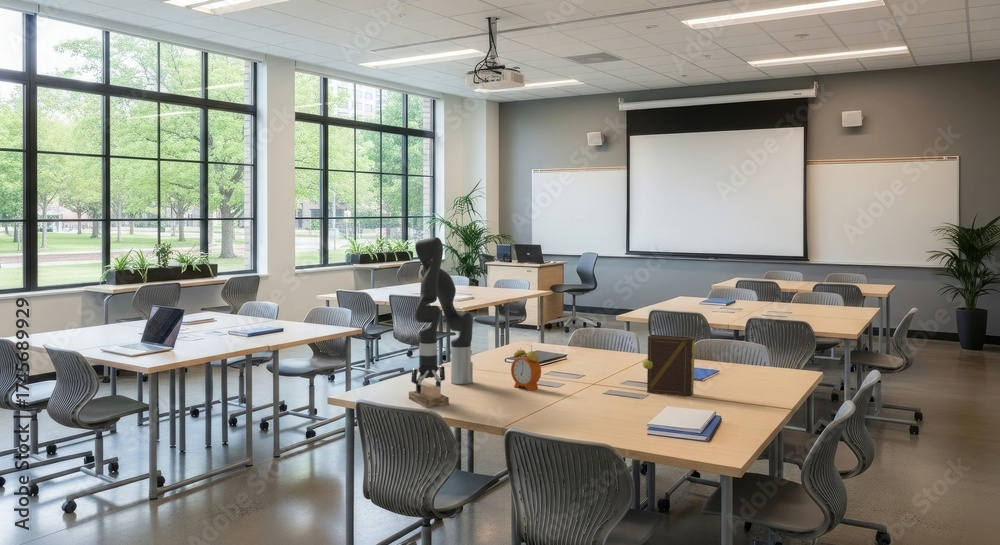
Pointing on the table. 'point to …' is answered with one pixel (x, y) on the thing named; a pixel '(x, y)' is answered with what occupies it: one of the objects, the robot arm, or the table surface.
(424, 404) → the picture frame
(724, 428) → the table surface
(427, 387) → the strip
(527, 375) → the alarm clock
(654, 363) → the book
